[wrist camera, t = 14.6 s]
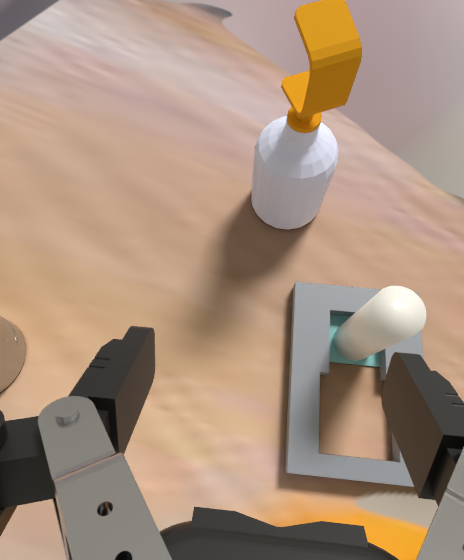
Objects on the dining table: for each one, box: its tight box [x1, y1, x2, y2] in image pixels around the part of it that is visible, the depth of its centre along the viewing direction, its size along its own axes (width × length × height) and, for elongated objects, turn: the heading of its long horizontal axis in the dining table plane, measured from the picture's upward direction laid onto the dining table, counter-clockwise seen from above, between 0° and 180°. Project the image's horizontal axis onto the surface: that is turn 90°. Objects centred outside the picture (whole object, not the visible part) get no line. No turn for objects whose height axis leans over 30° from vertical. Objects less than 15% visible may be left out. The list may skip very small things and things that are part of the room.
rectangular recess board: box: [285, 282, 423, 487], centre depth 42 cm, size 20×14×2 cm
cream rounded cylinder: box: [334, 286, 426, 361], centre depth 38 cm, size 4×4×13 cm
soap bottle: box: [252, 0, 362, 230], centre depth 39 cm, size 9×9×25 cm
